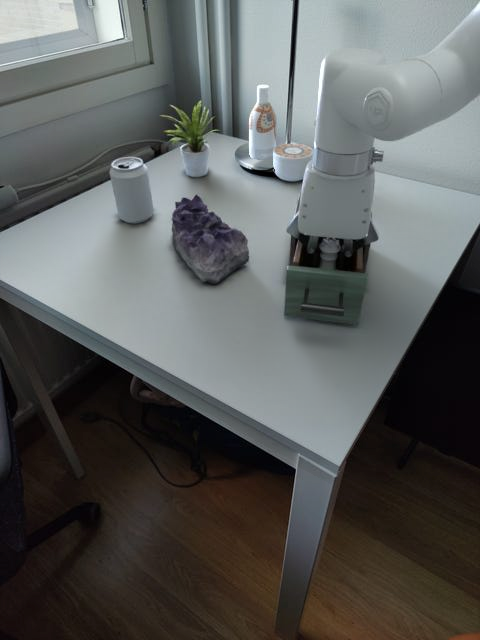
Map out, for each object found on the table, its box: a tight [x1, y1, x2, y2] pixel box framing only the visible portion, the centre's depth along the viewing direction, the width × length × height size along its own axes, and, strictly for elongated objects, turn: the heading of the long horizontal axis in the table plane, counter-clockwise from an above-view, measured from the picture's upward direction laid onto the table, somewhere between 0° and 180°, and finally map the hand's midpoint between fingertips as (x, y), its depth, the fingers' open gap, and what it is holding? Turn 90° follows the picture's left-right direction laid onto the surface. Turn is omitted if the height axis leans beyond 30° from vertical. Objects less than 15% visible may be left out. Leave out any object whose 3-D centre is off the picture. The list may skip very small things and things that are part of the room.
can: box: [108, 156, 155, 224], centre depth 95 cm, size 8×8×12 cm
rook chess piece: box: [318, 237, 341, 270], centre depth 72 cm, size 4×4×8 cm
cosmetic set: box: [248, 84, 316, 182], centre depth 106 cm, size 25×9×19 cm, turn 46°
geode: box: [171, 194, 250, 285], centre depth 84 cm, size 20×12×10 cm, turn 33°
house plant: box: [160, 100, 220, 178], centre depth 111 cm, size 14×14×16 cm
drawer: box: [283, 237, 368, 325], centre depth 72 cm, size 18×11×9 cm, turn 168°
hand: (326, 270), depth 73 cm, fingers closed on rook chess piece, 3 cm apart
